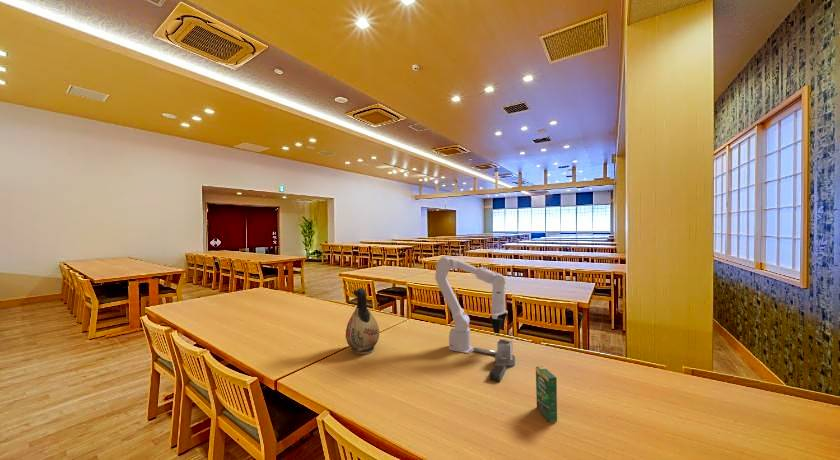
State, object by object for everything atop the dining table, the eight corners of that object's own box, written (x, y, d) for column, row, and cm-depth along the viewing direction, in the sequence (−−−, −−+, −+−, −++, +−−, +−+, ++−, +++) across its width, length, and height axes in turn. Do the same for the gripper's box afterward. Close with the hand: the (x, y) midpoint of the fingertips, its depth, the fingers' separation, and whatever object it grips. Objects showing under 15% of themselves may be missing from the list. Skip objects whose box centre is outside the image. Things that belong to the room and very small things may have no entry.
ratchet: (484, 378, 116) (484, 362, 116) (497, 357, 134) (497, 343, 134) (505, 383, 112) (505, 366, 112) (516, 361, 130) (516, 346, 130)
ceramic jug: (342, 347, 147) (341, 285, 146) (374, 342, 153) (373, 282, 153) (350, 362, 131) (349, 292, 131) (385, 355, 138) (384, 288, 137)
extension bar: (472, 351, 141) (472, 347, 140) (473, 350, 142) (473, 346, 142) (500, 357, 135) (500, 353, 134) (501, 355, 136) (501, 351, 136)
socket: (497, 356, 127) (497, 343, 127) (500, 351, 132) (500, 339, 132) (510, 358, 125) (510, 345, 125) (512, 354, 130) (512, 341, 129)
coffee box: (535, 406, 98) (535, 365, 98) (543, 405, 98) (543, 365, 98) (548, 422, 90) (548, 378, 90) (557, 422, 90) (557, 377, 90)
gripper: (503, 305, 131) (503, 337, 131) (510, 298, 144) (511, 327, 144) (487, 303, 134) (487, 334, 135) (495, 296, 147) (496, 324, 147)
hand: (498, 330), depth 140 cm, fingers open, 7 cm apart
